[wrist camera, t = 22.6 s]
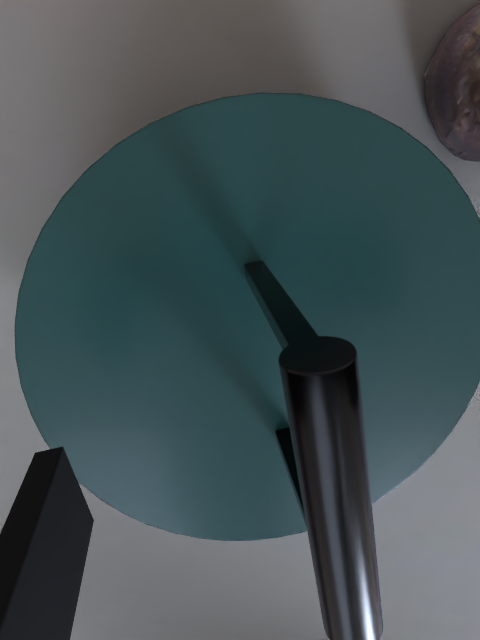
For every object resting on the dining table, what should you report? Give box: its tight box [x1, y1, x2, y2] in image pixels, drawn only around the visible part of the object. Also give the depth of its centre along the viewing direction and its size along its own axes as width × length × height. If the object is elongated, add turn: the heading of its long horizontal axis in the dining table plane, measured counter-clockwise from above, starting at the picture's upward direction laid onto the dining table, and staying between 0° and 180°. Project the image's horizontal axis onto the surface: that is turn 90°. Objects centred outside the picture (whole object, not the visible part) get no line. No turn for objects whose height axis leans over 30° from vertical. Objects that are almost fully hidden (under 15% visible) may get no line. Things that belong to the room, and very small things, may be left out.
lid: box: [15, 93, 480, 640], centre depth 14 cm, size 18×18×9 cm
